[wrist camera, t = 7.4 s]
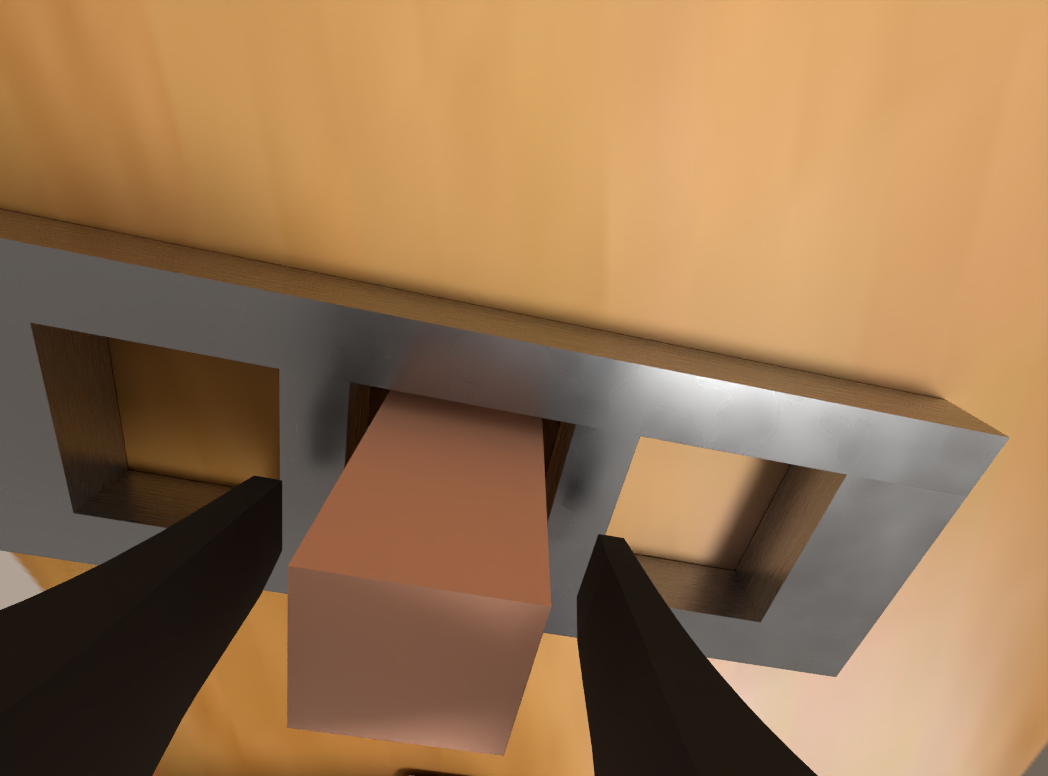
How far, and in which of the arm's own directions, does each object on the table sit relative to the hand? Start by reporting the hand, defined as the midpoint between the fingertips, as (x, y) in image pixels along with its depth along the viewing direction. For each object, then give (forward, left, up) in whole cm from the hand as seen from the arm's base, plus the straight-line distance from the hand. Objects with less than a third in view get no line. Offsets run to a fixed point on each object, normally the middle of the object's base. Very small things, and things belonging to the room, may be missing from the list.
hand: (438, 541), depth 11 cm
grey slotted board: (0, 0, -4) cm, 4 cm away
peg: (0, 0, -4) cm, 4 cm away
